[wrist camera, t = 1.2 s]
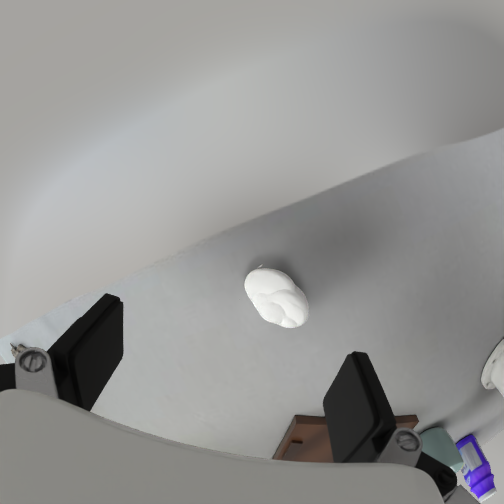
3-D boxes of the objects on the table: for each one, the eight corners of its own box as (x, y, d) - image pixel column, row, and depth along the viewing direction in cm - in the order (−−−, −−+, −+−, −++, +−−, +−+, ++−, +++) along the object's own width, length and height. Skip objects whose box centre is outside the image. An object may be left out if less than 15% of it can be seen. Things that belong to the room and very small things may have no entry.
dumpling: (317, 298, 28) (319, 329, 24) (270, 315, 29) (268, 345, 26) (284, 244, 25) (283, 272, 21) (233, 266, 26) (225, 295, 23)
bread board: (416, 414, 33) (420, 424, 31) (378, 458, 37) (381, 467, 35) (295, 415, 33) (296, 427, 31) (271, 460, 37) (271, 470, 35)
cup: (410, 431, 35) (428, 476, 25) (448, 415, 34) (470, 455, 25) (403, 452, 37) (418, 492, 28) (439, 437, 36) (456, 475, 27)
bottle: (453, 442, 38) (480, 501, 21) (474, 429, 37) (504, 485, 20) (450, 454, 40) (473, 508, 23) (470, 443, 39) (495, 494, 22)
